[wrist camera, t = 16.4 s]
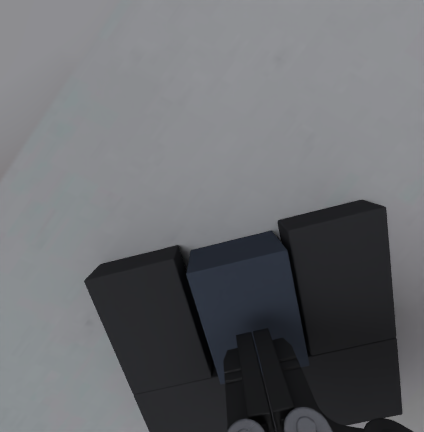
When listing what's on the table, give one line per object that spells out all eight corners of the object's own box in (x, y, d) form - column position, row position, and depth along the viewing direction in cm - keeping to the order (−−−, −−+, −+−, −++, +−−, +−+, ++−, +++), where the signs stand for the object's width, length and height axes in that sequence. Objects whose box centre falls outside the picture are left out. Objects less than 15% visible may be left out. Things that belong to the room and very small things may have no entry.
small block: (190, 250, 15) (185, 274, 12) (271, 230, 14) (287, 249, 12) (218, 344, 16) (220, 385, 13) (291, 327, 16) (310, 366, 13)
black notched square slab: (99, 264, 15) (83, 280, 13) (362, 199, 14) (386, 206, 12) (167, 429, 18) (162, 462, 16) (381, 385, 17) (403, 414, 16)
